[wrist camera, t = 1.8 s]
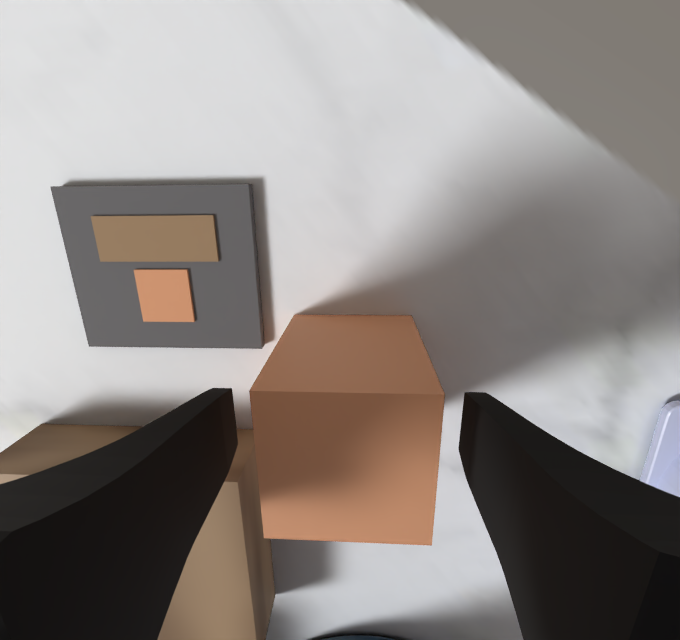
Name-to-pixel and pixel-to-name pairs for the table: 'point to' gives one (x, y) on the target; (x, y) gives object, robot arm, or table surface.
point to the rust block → (348, 431)
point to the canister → (358, 638)
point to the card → (164, 264)
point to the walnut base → (209, 547)
